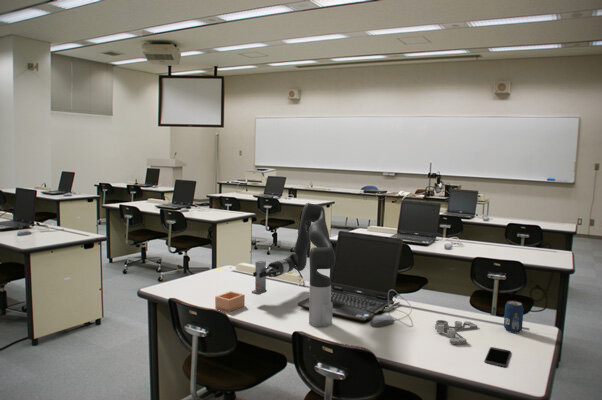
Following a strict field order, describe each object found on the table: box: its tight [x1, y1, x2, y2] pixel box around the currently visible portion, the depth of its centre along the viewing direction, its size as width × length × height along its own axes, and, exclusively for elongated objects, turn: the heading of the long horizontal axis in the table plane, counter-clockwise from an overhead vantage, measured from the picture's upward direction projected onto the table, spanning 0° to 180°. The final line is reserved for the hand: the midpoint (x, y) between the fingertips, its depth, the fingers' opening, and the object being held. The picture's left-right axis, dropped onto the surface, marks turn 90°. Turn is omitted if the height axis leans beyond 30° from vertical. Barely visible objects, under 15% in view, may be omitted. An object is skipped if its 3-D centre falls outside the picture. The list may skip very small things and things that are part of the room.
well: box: [214, 290, 246, 313], centre depth 204 cm, size 9×10×6 cm
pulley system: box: [434, 319, 478, 345], centre depth 180 cm, size 27×5×15 cm
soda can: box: [503, 300, 524, 334], centre depth 181 cm, size 7×7×12 cm
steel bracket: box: [251, 260, 268, 296], centre depth 209 cm, size 4×6×15 cm
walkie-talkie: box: [383, 301, 401, 312], centre depth 207 cm, size 9×4×20 cm
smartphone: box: [483, 346, 512, 369], centre depth 157 cm, size 7×15×1 cm, turn 148°
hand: (256, 275), depth 207 cm, fingers closed on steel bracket, 3 cm apart
